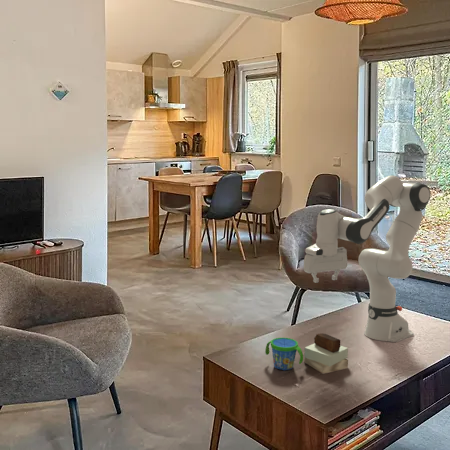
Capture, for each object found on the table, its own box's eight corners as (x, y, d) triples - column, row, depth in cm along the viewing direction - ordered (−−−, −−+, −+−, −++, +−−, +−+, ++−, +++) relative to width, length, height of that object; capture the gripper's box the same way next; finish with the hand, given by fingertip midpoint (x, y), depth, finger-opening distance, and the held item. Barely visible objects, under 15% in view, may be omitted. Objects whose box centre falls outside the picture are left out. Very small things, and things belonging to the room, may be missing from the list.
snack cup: (308, 368, 214) (308, 343, 212) (292, 377, 206) (293, 351, 204) (275, 357, 224) (275, 333, 222) (259, 365, 216) (260, 341, 214)
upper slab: (322, 348, 225) (322, 339, 224) (347, 357, 216) (348, 347, 216) (304, 357, 216) (304, 347, 216) (329, 366, 208) (330, 356, 207)
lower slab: (328, 358, 225) (328, 349, 224) (347, 369, 215) (348, 360, 214) (304, 364, 219) (304, 354, 219) (322, 375, 209) (323, 366, 208)
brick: (340, 351, 212) (340, 339, 212) (332, 353, 210) (333, 341, 209) (321, 342, 221) (321, 331, 220) (313, 344, 219) (314, 333, 218)
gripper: (341, 245, 235) (340, 276, 237) (302, 249, 226) (300, 281, 228) (351, 248, 230) (349, 280, 232) (310, 252, 221) (309, 285, 223)
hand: (325, 281), depth 230 cm, fingers open, 8 cm apart
